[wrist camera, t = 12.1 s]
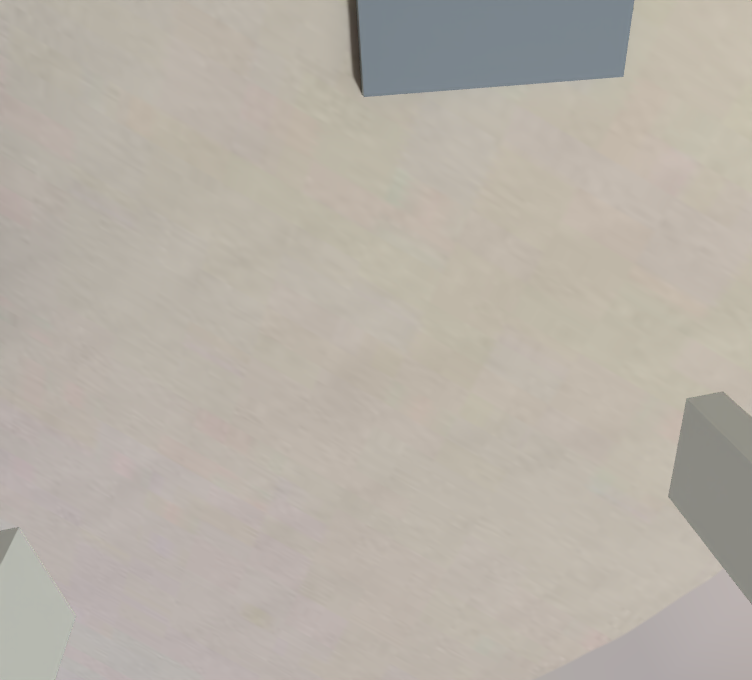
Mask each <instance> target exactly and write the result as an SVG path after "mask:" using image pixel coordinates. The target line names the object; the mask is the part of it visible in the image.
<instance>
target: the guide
mask: <svg viewBox="0 0 752 680" xmlns="http://www.w3.org/2000/svg"><path fill="white" fill-rule="evenodd" d="M633 5H634V0H356V9H357V25H358V40H359V56H360V72H361V88H362V95H363V96H364V97H369V96H382V95H395V94H407V93H420V92H433V91H446V90H459V89H472V88H485V87H497V86H510V85H523V84H536V83H549V82H562V81H575V80H588V79H600V78H613V77H623V75H624V68H625V61H626V54H627V47H628V40H629V33H630V26H631V19H632V12H633Z"/></svg>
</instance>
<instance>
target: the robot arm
mask: <svg viewBox="0 0 752 680" xmlns="http://www.w3.org/2000/svg"><path fill="white" fill-rule="evenodd" d="M668 497H669V498H670V499H671V501H672V502H673V503H674V505H675V506H676V507H677V508H678V510H679V511H680V512H681V514H682V515H683V516H684V517H685V519H686V520H687V521H688V523H689V524H690V525H691V526H692V528H693V529H694V530H695V532H696V533H697V534H698V536H699V537H700V538H701V539H702V541H703V542H704V543H705V545H706V546H707V547H708V548H709V550H710V551H711V552H712V554H713V555H714V556H715V558H716V559H717V560H718V561H719V563H720V564H721V565H722V567H723V568H724V569H725V570H726V572H727V573H728V574H729V576H730V577H731V578H732V579H733V581H734V582H735V583H736V585H737V586H738V587H739V589H740V590H741V591H742V592H743V593H744V595H745V596H746V597H747V599H748V600H749V601H750V603H751V604H752V417H751V416H750V415H749V414H747V413H746V412H745V411H744V410H743V409H742V408H741V407H740V406H739V405H737V404H736V403H735V402H734V401H733V400H732V399H731V398H730V397H729V396H727V395H726V394H725V393H724V392H718V393H713V394H708V395H703V396H697V397H692V398H687V399H686V404H685V410H684V415H683V420H682V426H681V431H680V437H679V442H678V447H677V453H676V458H675V463H674V469H673V474H672V479H671V485H670V490H669V495H668ZM75 618H76V615H75V614H74V612H73V610H72V609H71V607H70V606H69V604H68V603H67V601H66V600H65V598H64V596H63V595H62V593H61V592H60V590H59V589H58V587H57V585H56V584H55V582H54V581H53V579H52V578H51V576H50V575H49V573H48V571H47V570H46V568H45V567H44V565H43V564H42V562H41V561H40V559H39V557H38V556H37V554H36V553H35V551H34V550H33V548H32V547H31V545H30V543H29V542H28V540H27V539H26V537H25V536H24V534H23V533H22V531H21V529H20V528H19V527H17V528H12V529H7V530H2V531H0V680H55V679H56V676H57V673H58V670H59V666H60V663H61V660H62V657H63V654H64V651H65V648H66V645H67V642H68V639H69V636H70V633H71V630H72V627H73V624H74V621H75Z"/></svg>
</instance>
